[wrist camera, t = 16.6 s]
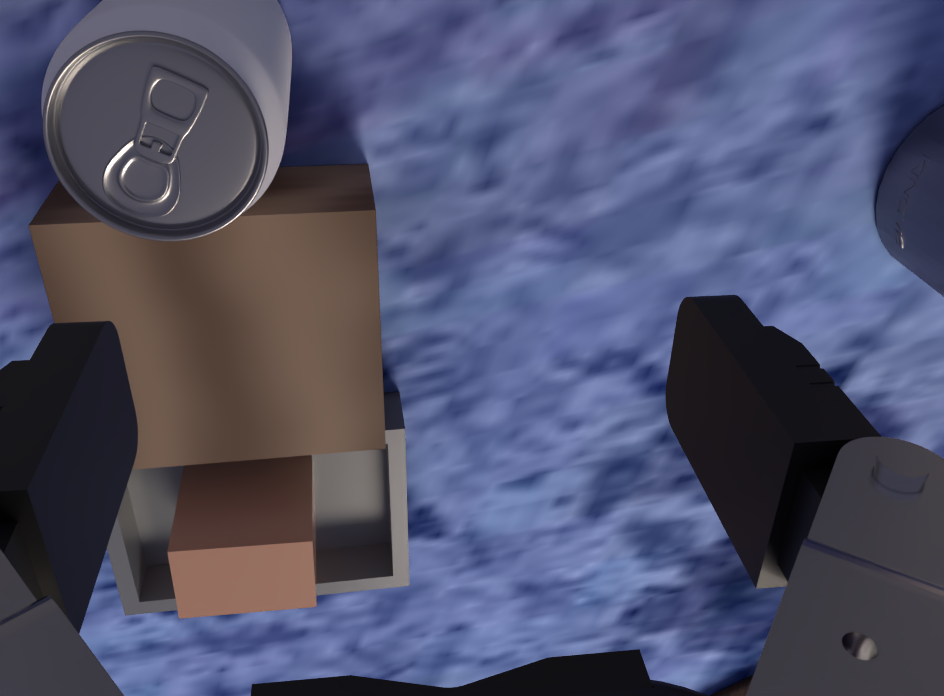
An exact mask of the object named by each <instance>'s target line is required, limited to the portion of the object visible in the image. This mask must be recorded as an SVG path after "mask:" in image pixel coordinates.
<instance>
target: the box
mask: <svg viewBox="0 0 944 696" xmlns="http://www.w3.org/2000/svg"><path fill="white" fill-rule="evenodd" d="M383 394H384V417H385V441H386V449H378V450H366V451H353V452H341V453H329V454H317V455H312V462H313V479H314V496H315V513H316V595H325V594H334V593H344V592H353V591H363V590H372V589H382V588H391V587H401V586H409V555H408V519H407V483H406V447H405V426H404V419H403V413H402V406H401V400H400V393H399V392H393V393H383ZM305 456H307V455H305ZM183 468H184V466H172V467H159V468H147V469H135V470H132V471H131V474H130V477H129V480H128V484H127V487H126V490H125V493H124V496H123V499H122V502H121V505H120V508H119V511H118V515H117V518H116V521H115V524H114V527H113V530H112V533H111V536H110V539H109V542H108V546H107V550H108V554H109V557H110V561H111V565H112V568H113V572H114V576H115V579H116V583H117V587H118V591H119V594H120V598H121V602H122V605H123V609H124V613H125V615H134V614H144V613H153V612H163V611H172V610H178V609H177V603H176V598H175V592H174V586H173V581H172V575H171V570H170V564H169V559H168V553H167V551H168V546H169V541H170V536H171V530H172V525H173V520H174V515H175V510H176V504H177V499H178V494H179V489H180V484H181V478H182V473H183Z"/></svg>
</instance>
